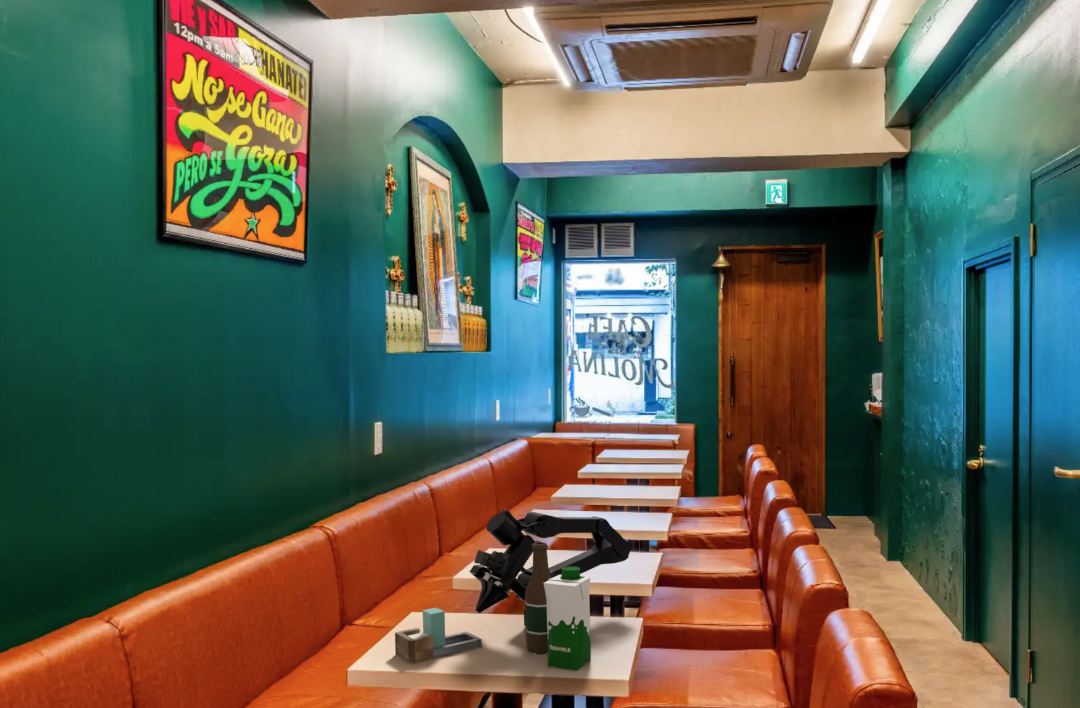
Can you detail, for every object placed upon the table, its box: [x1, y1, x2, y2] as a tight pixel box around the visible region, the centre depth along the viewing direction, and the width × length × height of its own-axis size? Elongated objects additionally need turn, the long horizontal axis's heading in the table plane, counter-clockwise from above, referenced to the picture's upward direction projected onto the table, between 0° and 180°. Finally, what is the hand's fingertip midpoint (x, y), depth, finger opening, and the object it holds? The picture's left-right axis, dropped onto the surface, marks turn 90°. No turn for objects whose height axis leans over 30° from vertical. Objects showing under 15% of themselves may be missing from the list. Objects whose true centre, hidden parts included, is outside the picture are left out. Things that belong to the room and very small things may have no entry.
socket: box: [394, 627, 435, 664], centre depth 196 cm, size 6×8×5 cm
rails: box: [433, 631, 483, 659], centre depth 201 cm, size 12×7×2 cm, turn 124°
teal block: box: [409, 607, 446, 648], centre depth 198 cm, size 8×4×9 cm, turn 124°
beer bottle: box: [524, 541, 550, 655], centre depth 199 cm, size 8×8×24 cm
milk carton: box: [544, 566, 592, 671], centre depth 189 cm, size 9×9×20 cm
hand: (477, 611), depth 205 cm, fingers closed
